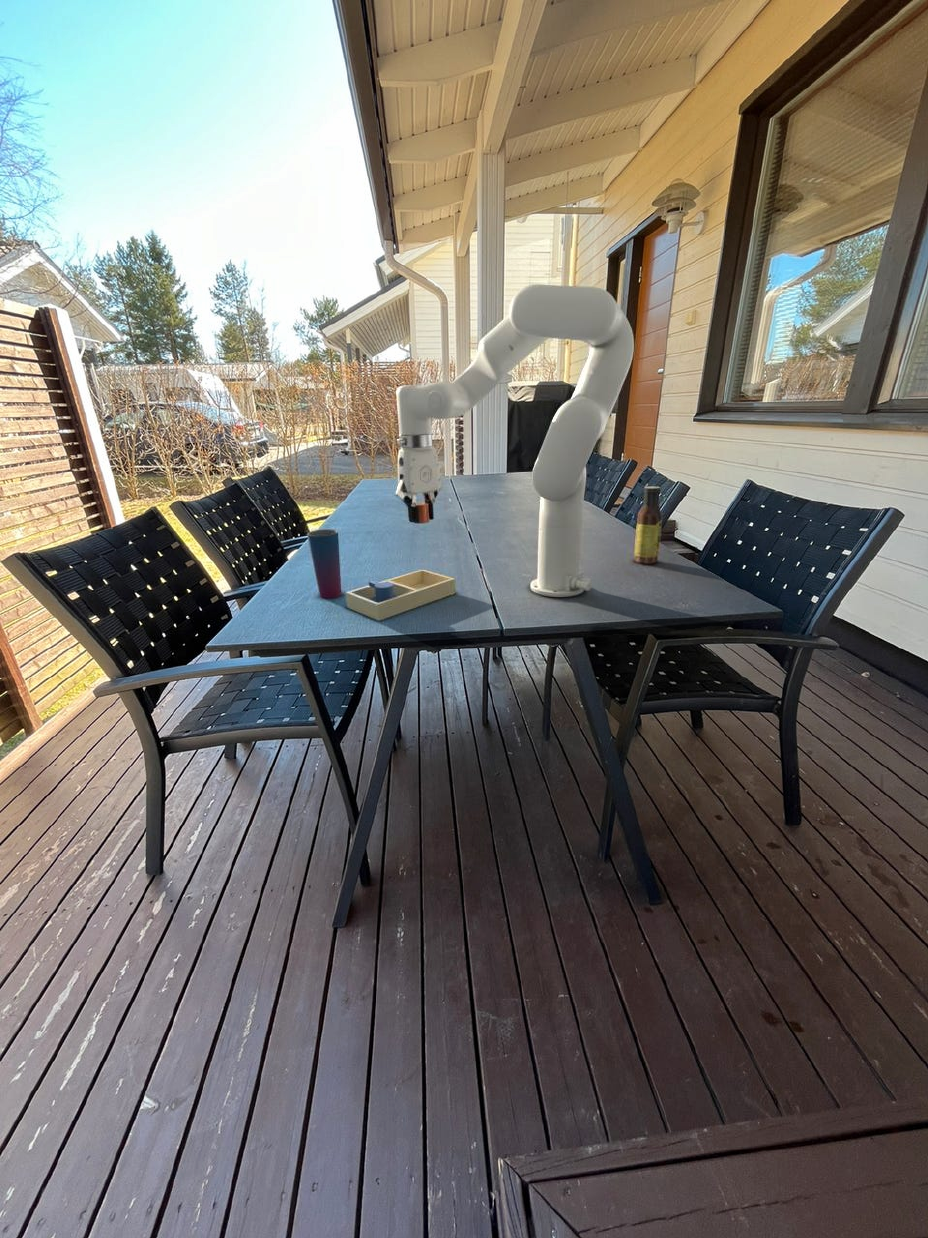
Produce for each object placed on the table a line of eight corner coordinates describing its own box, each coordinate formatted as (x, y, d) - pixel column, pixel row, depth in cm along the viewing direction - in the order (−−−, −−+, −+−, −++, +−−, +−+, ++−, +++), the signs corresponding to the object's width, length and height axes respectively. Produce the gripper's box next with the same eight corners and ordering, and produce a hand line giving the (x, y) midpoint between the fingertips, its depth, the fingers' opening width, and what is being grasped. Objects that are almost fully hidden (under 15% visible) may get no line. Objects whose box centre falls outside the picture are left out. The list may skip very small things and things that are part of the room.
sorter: (455, 593, 123) (455, 578, 122) (378, 620, 109) (377, 604, 107) (423, 583, 131) (422, 569, 129) (347, 607, 116) (345, 592, 115)
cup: (338, 600, 121) (330, 536, 115) (310, 599, 122) (301, 535, 116) (349, 590, 127) (342, 529, 121) (323, 589, 128) (315, 528, 122)
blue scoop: (398, 603, 115) (396, 584, 114) (383, 608, 113) (382, 589, 111) (379, 597, 120) (377, 578, 118) (365, 601, 117) (363, 582, 115)
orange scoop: (432, 521, 130) (431, 503, 128) (420, 524, 127) (419, 505, 125) (415, 518, 134) (414, 500, 132) (403, 520, 132) (401, 502, 130)
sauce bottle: (660, 564, 140) (670, 488, 132) (637, 565, 140) (645, 489, 133) (653, 558, 146) (661, 485, 138) (630, 558, 146) (637, 485, 139)
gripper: (397, 445, 115) (404, 528, 122) (453, 440, 125) (456, 516, 132) (377, 445, 120) (385, 524, 127) (432, 439, 130) (436, 513, 137)
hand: (421, 519), depth 129 cm, fingers closed on orange scoop, 4 cm apart
